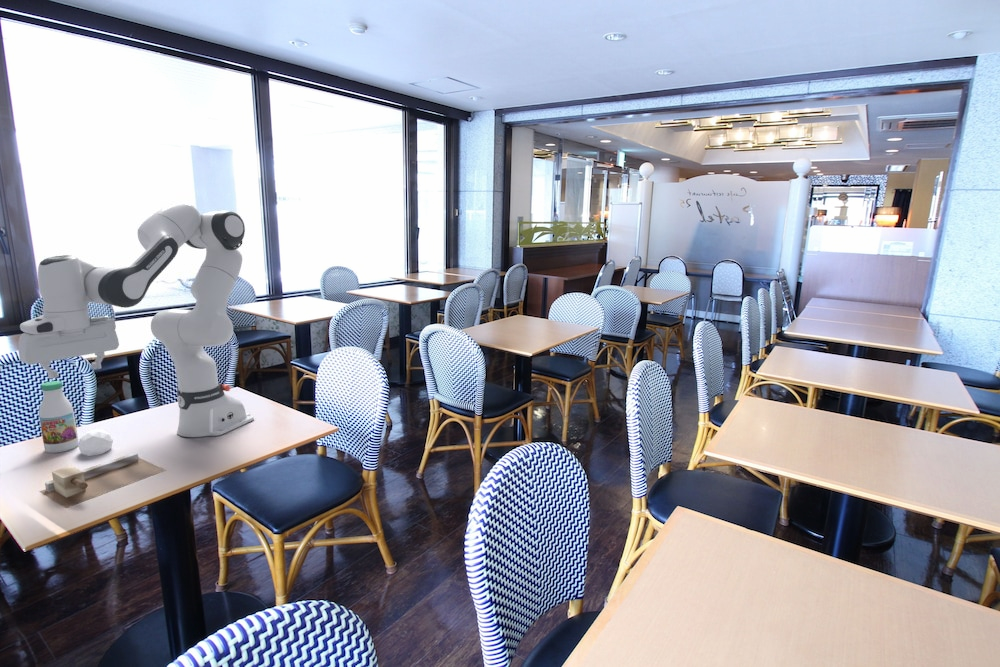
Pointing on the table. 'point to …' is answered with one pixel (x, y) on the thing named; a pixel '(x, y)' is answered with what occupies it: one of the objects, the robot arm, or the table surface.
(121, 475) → the walnut board
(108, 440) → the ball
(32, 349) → the robot arm
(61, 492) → the wooden mallet
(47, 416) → the milk bottle
